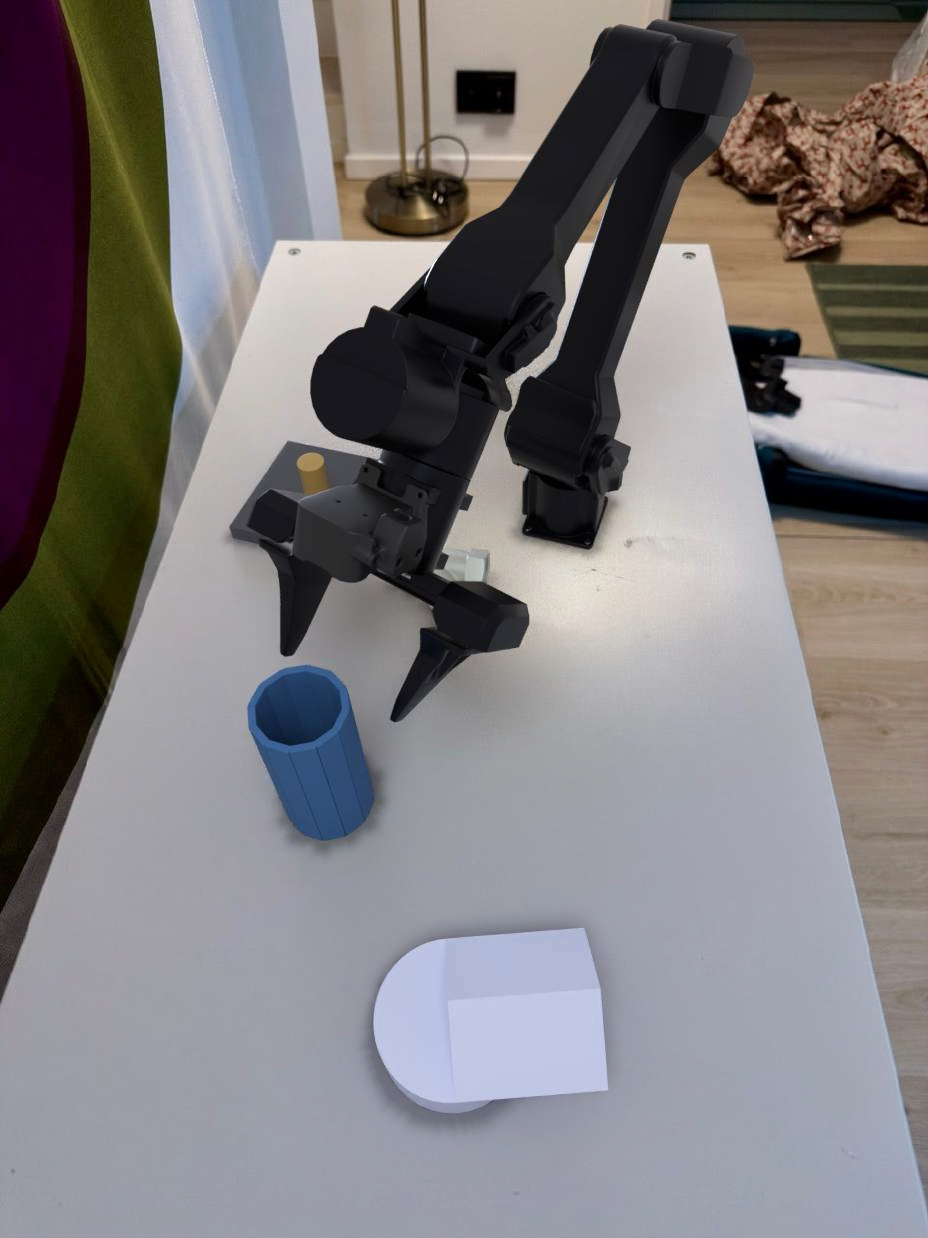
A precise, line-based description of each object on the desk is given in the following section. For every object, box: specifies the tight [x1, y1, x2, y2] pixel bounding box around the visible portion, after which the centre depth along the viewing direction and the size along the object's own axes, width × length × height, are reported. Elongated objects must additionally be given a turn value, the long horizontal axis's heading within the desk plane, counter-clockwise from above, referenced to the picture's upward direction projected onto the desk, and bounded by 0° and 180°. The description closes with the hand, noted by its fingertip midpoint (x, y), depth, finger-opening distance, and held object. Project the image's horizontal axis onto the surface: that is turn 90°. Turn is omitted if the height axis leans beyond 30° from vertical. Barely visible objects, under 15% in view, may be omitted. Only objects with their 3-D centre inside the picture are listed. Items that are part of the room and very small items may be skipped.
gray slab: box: [228, 440, 379, 545], centre depth 81 cm, size 12×12×6 cm
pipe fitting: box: [401, 547, 491, 610], centre depth 74 cm, size 8×4×7 cm
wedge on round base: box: [373, 927, 609, 1114], centre depth 52 cm, size 9×7×13 cm
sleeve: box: [246, 664, 375, 841], centre depth 60 cm, size 6×6×12 cm
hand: (339, 687), depth 58 cm, fingers open, 9 cm apart
